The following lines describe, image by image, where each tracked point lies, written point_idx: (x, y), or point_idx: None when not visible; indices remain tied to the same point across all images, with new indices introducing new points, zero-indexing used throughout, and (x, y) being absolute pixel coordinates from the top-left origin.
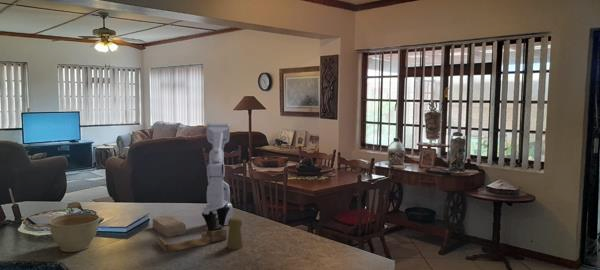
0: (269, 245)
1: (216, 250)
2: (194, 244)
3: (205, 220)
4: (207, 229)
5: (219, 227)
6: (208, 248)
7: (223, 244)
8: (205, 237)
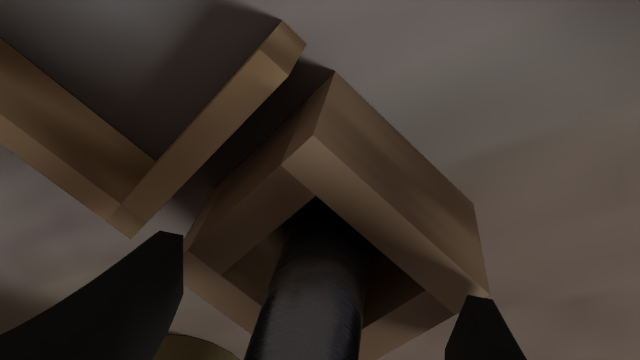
0: None
1: (49, 285)
2: None
3: (8, 338)
4: (271, 170)
5: (407, 298)
6: (49, 214)
7: (202, 300)
8: (96, 188)
